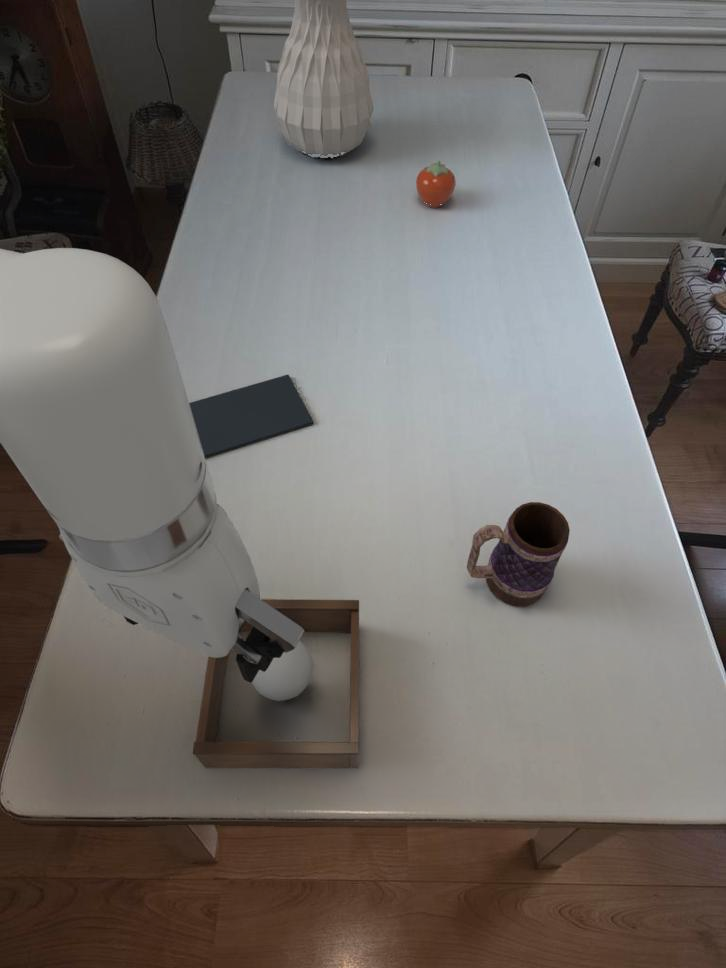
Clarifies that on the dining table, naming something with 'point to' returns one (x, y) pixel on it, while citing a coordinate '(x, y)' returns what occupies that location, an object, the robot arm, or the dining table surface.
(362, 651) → the dining table surface
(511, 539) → the mug
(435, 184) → the tomato
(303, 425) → the mat
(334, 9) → the vase
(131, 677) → the dining table surface
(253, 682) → the light bulb
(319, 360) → the dining table surface
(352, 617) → the brown wooden square frame
